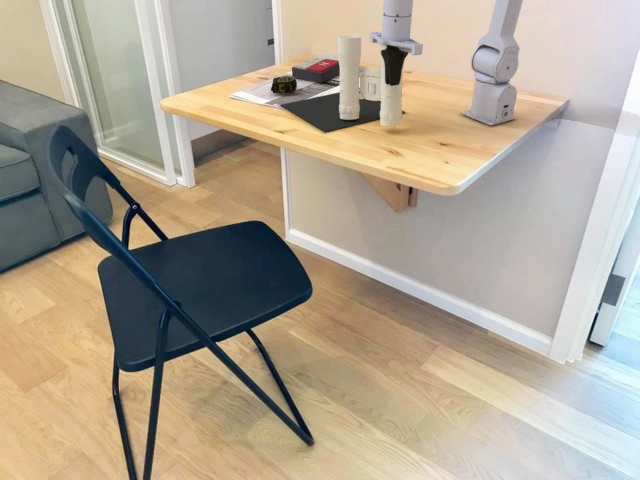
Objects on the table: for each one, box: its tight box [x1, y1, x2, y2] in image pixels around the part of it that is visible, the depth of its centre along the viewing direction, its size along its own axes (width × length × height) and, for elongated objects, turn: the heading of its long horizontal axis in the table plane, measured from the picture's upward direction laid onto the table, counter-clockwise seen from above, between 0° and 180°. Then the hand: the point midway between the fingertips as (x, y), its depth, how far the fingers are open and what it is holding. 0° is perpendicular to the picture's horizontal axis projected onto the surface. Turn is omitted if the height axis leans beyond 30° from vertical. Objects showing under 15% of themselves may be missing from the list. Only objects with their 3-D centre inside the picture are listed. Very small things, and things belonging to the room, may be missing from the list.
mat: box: [279, 91, 405, 133], centre depth 132 cm, size 22×23×1 cm
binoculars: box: [337, 35, 406, 127], centre depth 118 cm, size 17×5×18 cm, turn 49°
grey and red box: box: [291, 53, 340, 84], centre depth 157 cm, size 11×4×15 cm
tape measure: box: [270, 75, 298, 94], centre depth 143 cm, size 7×7×4 cm
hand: (391, 84), depth 111 cm, fingers closed, pressing on binoculars
